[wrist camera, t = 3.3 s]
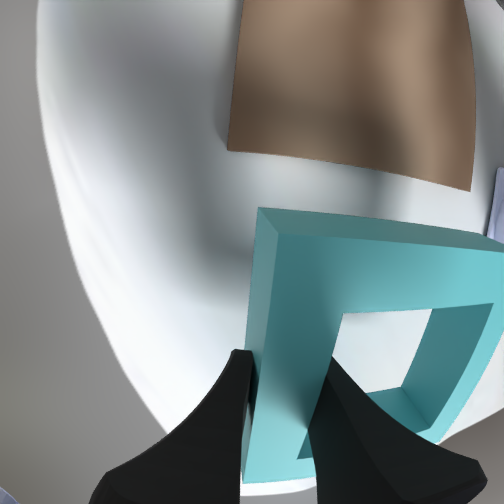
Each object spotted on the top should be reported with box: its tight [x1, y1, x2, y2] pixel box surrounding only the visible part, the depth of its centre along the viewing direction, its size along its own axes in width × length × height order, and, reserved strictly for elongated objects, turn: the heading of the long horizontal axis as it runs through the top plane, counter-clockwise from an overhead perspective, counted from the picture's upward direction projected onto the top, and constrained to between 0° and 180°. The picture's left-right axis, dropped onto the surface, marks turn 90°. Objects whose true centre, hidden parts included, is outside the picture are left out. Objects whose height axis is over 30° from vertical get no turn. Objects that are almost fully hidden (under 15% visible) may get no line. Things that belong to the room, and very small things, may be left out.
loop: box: [241, 207, 504, 484], centre depth 11 cm, size 11×11×4 cm
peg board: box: [227, 0, 476, 192], centre depth 10 cm, size 15×19×6 cm
